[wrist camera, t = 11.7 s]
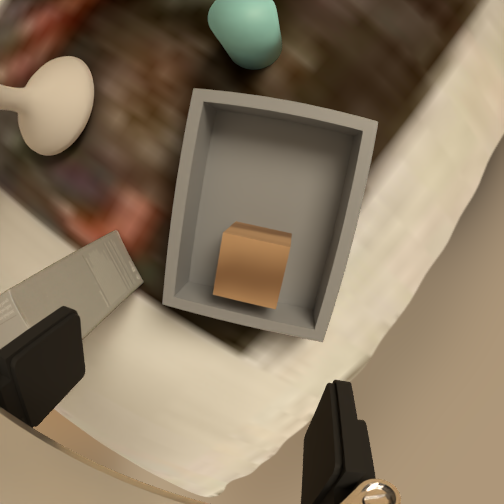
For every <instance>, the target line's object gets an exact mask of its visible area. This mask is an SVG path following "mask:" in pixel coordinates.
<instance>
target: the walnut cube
mask: <svg viewBox="0 0 504 504" xmlns="http://www.w3.org/2000/svg"><path fill="white" fill-rule="evenodd" d="M291 237H292V233H287V232H283V231H278V230H274V229H269V228H265V227H260V226H256V225H251V224H246V223H242V222H237V221H236V222H234V223H233V224H232V225H231V226H230V227H229V228H228V229H226V230H225V231H224V232H223V235H222V241H221V247H220V253H219V259H218V265H217V271H216V277H215V284H214V290H213V295H217V296H221V297H225V298H229V299H233V300H238V301H242V302H246V303H250V304H255V305H259V306H263V307H268V308H272V309H276V306H277V302H278V298H279V294H280V290H281V286H282V281H283V277H284V273H285V269H286V264H287V260H288V256H289V252H290V247H291Z"/></svg>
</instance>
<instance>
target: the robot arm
mask: <svg viewBox="0 0 504 504" xmlns="http://www.w3.org/2000/svg"><path fill="white" fill-rule="evenodd" d="M84 374H85V363H84V354H83V344H82V333H81V320H80V316H79V315H78V313H77V311H76V310H74V309H71V308H69V307H66V306H62V307H60V308H59V309H57V310H56V311H54V312H53V313H51V314H50V315H48V316H47V317H45V318H44V319H42V320H41V321H39V322H38V323H37V324H35V325H34V326H32V327H31V328H29V329H28V330H26V331H25V332H24V333H22V334H21V335H19V336H18V337H16V338H15V339H14V340H12V341H11V342H9V343H8V344H7V345H5V346H4V347H3V348H1V349H0V504H209V503H205V502H201V501H198V500H195V499H191V498H187V497H184V496H181V495H177V494H174V493H171V492H168V491H165V490H162V489H160V488H157V487H154V486H151V485H148V484H146V483H143V482H140V481H138V480H135V479H133V478H130V477H127V476H125V475H123V474H120V473H118V472H116V471H113V470H111V469H109V468H106V467H104V466H102V465H100V464H98V463H96V462H94V461H92V460H89V459H87V458H85V457H83V456H81V455H79V454H77V453H75V452H74V451H72V450H70V449H68V448H66V447H64V446H62V445H61V444H59V443H57V442H55V441H53V440H52V439H50V438H48V437H46V436H45V435H43V434H41V433H40V432H38V431H36V430H35V429H33V427H34V426H35V427H36V426H38V425H39V424H40V423H41V422H42V421H43V419H44V418H45V417H46V416H47V415H48V414H49V413H50V412H51V411H52V410H53V409H54V408H55V406H56V405H57V404H58V403H59V402H60V401H61V400H62V399H63V398H64V397H65V396H66V395H67V394H68V393H69V391H70V390H71V389H72V388H73V387H74V386H75V385H76V384H77V383H78V382H79V381H80V380H81V379H82V378H83V376H84ZM400 501H401V497H400V493H399V491H398V490H397V488H396V487H395V486H394V485H393V484H391V483H390V482H388V481H385V480H381V479H376V478H375V472H374V466H373V460H372V454H371V448H370V442H369V437H368V431H367V426H366V423H365V421H364V420H357V414H356V409H355V403H354V396H353V391H352V386H351V383H350V382H346V381H340V380H334V381H333V383H328V384H327V385H326V388H325V390H324V393H323V395H322V397H321V400H320V402H319V405H318V407H317V409H316V412H315V414H314V416H313V418H312V421H311V423H310V425H309V427H308V430H307V432H306V434H305V438H304V453H303V477H302V496H301V504H400Z"/></svg>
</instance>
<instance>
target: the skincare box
mask: <svg viewBox="0 0 504 504" xmlns="http://www.w3.org/2000/svg"><path fill="white" fill-rule="evenodd" d="M142 283H143V280H142V278H141V276H140V274H139V273H138V271H137V269H136V267H135V265H134V263H133V262H132V260H131V258H130V256H129V254H128V252H127V250H126V248H125V246H124V244H123V242H122V240H121V238H120V235H119V233H118V231H117V230H114V231H112V232H111V233H109V234H107V235H105V236H103V237H101V238H99V239H97V240H96V241H94V242H92V243H90V244H88V245H86V246H84V247H83V248H81V249H79V250H77V251H75V252H73V253H72V254H70V255H68V256H66V257H64V258H63V259H61V260H59V261H57V262H55V263H54V264H52V265H50V266H48V267H47V268H45V269H43V270H41V271H40V272H38V273H36V274H34V275H33V276H31V277H29V278H28V279H26V280H24V281H22V282H21V283H19V284H17V285H16V286H14V287H12V288H10V289H8V290H7V291H5V292H4V293H2V294H1V295H0V349H1V348H3V347H4V346H5V345H7V344H8V343H9V342H11V341H12V340H14V339H15V338H16V337H18V336H19V335H21V334H22V333H24V332H25V331H26V330H28V329H29V328H31V327H32V326H34V325H35V324H37V323H38V322H39V321H41V320H42V319H44V318H45V317H47V316H48V315H50V314H51V313H53V312H54V311H56V310H57V309H59V308H60V307H62V306H66V307H69V308H71V309H74V310H76V311H77V313H78V315H79V316H80V320H81V333H82V340H83V339H84V338H85V337H86V336H87V335H88V334H89V333H90V332H91V331H92V330H93V329H94V328H95V327H96V326H97V325H98V324H99V323H100V322H101V321H102V320H104V319H105V318H106V317H107V316H108V315H109V314H110V313H111V312H112V311H113V310H114V309H115V308H116V307H117V306H118V305H119V304H120V303H122V302H123V301H124V300H125V299H126V298H127V297H128V296H129V295H130V294H131V293H132V292H133V291H135V290H136V289H137V288H138V287H139V286H140V285H141V284H142Z"/></svg>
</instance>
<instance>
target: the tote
mask: <svg viewBox="0 0 504 504" xmlns="http://www.w3.org/2000/svg"><path fill="white" fill-rule="evenodd" d="M377 126H378V122H377V121H374V120H370V119H366V118H363V117H359V116H355V115H351V114H347V113H343V112H339V111H335V110H331V109H326V108H322V107H317V106H313V105H308V104H303V103H298V102H293V101H287V100H282V99H276V98H270V97H264V96H257V95H250V94H243V93H235V92H227V91H218V90H209V89H198V88H193V93H192V98H191V103H190V108H189V113H188V118H187V123H186V129H185V134H184V140H183V145H182V151H181V157H180V163H179V169H178V175H177V182H176V189H175V195H174V203H173V210H172V217H171V225H170V233H169V242H168V251H167V260H166V270H165V280H164V291H163V303H162V304H163V305H166V306H170V307H174V308H177V309H181V310H185V311H189V312H192V313H196V314H200V315H204V316H208V317H212V318H216V319H220V320H224V321H228V322H232V323H236V324H240V325H245V326H249V327H253V328H258V329H262V330H266V331H271V332H276V333H280V334H285V335H290V336H294V337H299V338H304V339H309V340H314V341H319V342H323V340H324V337H325V334H326V331H327V328H328V325H329V322H330V318H331V315H332V312H333V309H334V306H335V302H336V299H337V296H338V292H339V289H340V285H341V282H342V278H343V275H344V271H345V268H346V264H347V260H348V257H349V253H350V249H351V245H352V242H353V238H354V234H355V230H356V226H357V222H358V217H359V213H360V209H361V205H362V200H363V196H364V192H365V187H366V182H367V178H368V173H369V168H370V163H371V158H372V153H373V148H374V142H375V137H376V131H377ZM236 221H237V222H242V223H246V224H251V225H256V226H260V227H265V228H269V229H274V230H278V231H283V232H287V233H292V237H291V247H290V252H289V256H288V260H287V264H286V269H285V273H284V277H283V281H282V286H281V290H280V294H279V298H278V302H277V306H276V309H272V308H268V307H263V306H259V305H255V304H250V303H246V302H242V301H238V300H233V299H229V298H225V297H221V296H217V295H213V290H214V284H215V277H216V271H217V265H218V259H219V253H220V247H221V241H222V235H223V232H224V231H225V230H226V229H228V228H229V227H230V226H231V225H232V224H233V223H234V222H236Z"/></svg>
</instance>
